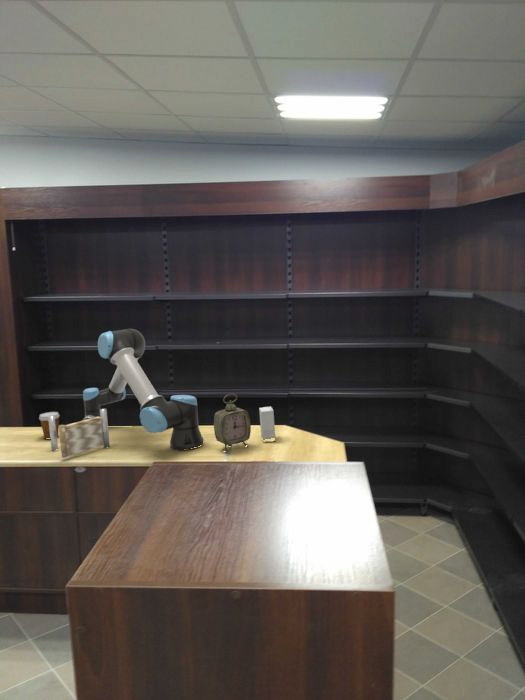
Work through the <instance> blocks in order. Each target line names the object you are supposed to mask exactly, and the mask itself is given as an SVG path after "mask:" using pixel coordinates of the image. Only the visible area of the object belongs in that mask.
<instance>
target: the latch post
mask: <svg viewBox="0 0 525 700" xmlns="http://www.w3.org/2000/svg"><path fill="white" fill-rule="evenodd" d="M48 421H49V430H50V439H51V440H50V447H51V451H52V450H56V449H58V450H59V445H58V444H59V443H58V438H57V434H56V424H55V416H48Z"/></svg>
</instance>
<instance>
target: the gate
mask: <svg viewBox="0 0 525 700" xmlns="http://www.w3.org/2000/svg"><path fill="white" fill-rule="evenodd" d="M82 420H83V419H82ZM82 420H80V421H77V422H73V423H68V424H59V428H58V435H59V443H60V451H61V458H63V459H64V458H65V459H66V458H68V457H70V456H74V455H77V454H81V453H83V452H86V451H90V450H92V449H95V448H99V447H102V446H103V437H102V426H101V417H95V418H91V419H87V420H83V421H82Z"/></svg>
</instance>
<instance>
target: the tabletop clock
mask: <svg viewBox="0 0 525 700" xmlns="http://www.w3.org/2000/svg"><path fill="white" fill-rule="evenodd" d="M229 396H234V397H235V399H233V400H232V399H230V400H229V401H225V399H226V398H227V397H229ZM237 400H238V395H237V394H235V393H228V394H226V395H225V396H224V397H223V399H222V401H223V403H224V404H226V406H225V408H224V409H221V410H218V411H217V412H215V413H214V415H213V432H214V436H215V439H216V441H218V442H219V443H222V444H224V449H223V451H227V452H228V450H227V446H228V447H229V446H232V447H233V445H238V444H242V443H243V445H245V446H246V445H248V444H247V443H245V442H246V441H248V440H249V439H250V437H251V431H252V429H251V428H252V427H251V426H252V425H251V423H252V422H251V416H250V413H249V411H247V410H245V409H242V408H240V407H237V405H236V404H234V403H235V402H236V401H237ZM223 451H222V452H223Z"/></svg>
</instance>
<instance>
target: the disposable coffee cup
mask: <svg viewBox="0 0 525 700" xmlns="http://www.w3.org/2000/svg"><path fill="white" fill-rule="evenodd" d="M48 416H55V424H56V434H57V436H58V437H59V425H60V424H59V422H60V420H59V419H60V414H59V412H58V411H49V412H44V413H40V414H39V417H38V419H39V421H40V425H41V429H42V433H43V436H44V439H45V438H50V430H49V421H48Z"/></svg>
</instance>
